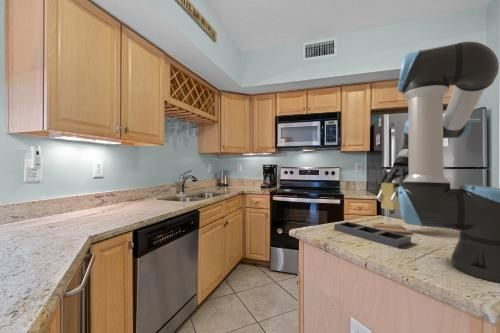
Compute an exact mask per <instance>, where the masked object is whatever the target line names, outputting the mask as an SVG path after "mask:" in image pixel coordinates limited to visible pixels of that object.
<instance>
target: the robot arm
mask: <svg viewBox="0 0 500 333" xmlns="http://www.w3.org/2000/svg"><path fill="white" fill-rule="evenodd" d="M499 66H500V63H499V59H498V57H497V55H496V54H495V52H494V50H493V49H491V48H490V47H489V46H487V45H486V44H483V43H481V42H477V41H463V42H459V43H454V44H449V45H443V46H438V47H432V48H428V49H420V50H418V51H414V52H409V53H407V54H405V55H404V56H403V58H402V60H401V65H400V72H399V79H398V85H397V93H401V94H402V98H403V99H404V100H406V102H407V103H408V104H407V105H408V107H407V108H408V109H407V110H408V112H407V113H408V114H407V115H408V117H407V118H408V119H407V120H405V124H404V130H403V132H404V133H403V144H402V147H401V148H400V150H399V153H398V154H397V156H396V158H395V160H394V162H393V163H392V167H391V168H390V169H387V168H384V169H383V173H382V175H381V177H380V179H379V181H378V182H377V184H376V185H377V186H378V188H379V189H378V191H377V192H378V194H377V196H376V199H377V201H378V202H381V183H385V182H392V183H393V181H394V180H396V179H397V178H398V179H399V182H398V183H399V186H398V188H397V187H396V189H395V191H394V193H393V195H392V197H391V201H392V203H393V204H395V202H396V200H397V198H398V197H399V210H400V215H401V218H402V221H403V222H404V223H405V224H407V225H413V226H419V227H422V228H423V227H427V228H428V227H429V228H438V229H446V230H447V229H448V230H454V231H455V230H456V231H457V230H458V231H459V239H458V241H457V243H456V245H455V247H454V250H453V251H452V253H451V258H450V259H451V261H450V262H451V266H453V267H454V268H455V269H457V270H459V271H461V272H463V273H465V274H468V275H470V276H473V277H475V278H479V279H482V280H485V281H486V280H487V281H491V282H495V283H500V188H499V187H492V186H484V185H478V184H467V183H461V184H460V185H459V187H458V188H451V181H450V180H448V179H447V177H445V176H444V175H445V174H444V172H445V171H444V139H458V138H466V137H469V135H470V134H471V129H472V122H471V120H470V117H471V115H472V113H473V112H474V109H475V107H476V106H477V105H478V103H479V100H480V98H481V96H482V95H483V93H484V91H485V90H487V88H489V87H490V86H491V85H492V84H493V83H494V81H495V80H496V79H497V76H498V73H499ZM450 86H454V88H453V91H452V94H451V97H450V99H449V100H448V101H449V102H448V104H447V107H446V109H445V113H444V111H443V110H444V107H443V106H444V105H443V104H444V103H443V102H444V99H443V98H444V96H445V95H446V94H447V93H448V92H449V91H450Z"/></svg>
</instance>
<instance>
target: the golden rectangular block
mask: <svg viewBox="0 0 500 333" xmlns="http://www.w3.org/2000/svg"><path fill="white" fill-rule="evenodd" d="M398 186H399V182H393V181H392V182H385V183H381V203H380V206H381V207H380V208H381V209H384V210H391V211H394V210H400V204H399V197H398V198H397V200H396V202H395V204H393V203H392V201H391V197H392V195H393V193H394V191H395V189H396V187H397V188H398Z"/></svg>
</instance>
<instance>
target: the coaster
mask: <svg viewBox="0 0 500 333" xmlns="http://www.w3.org/2000/svg"><path fill="white" fill-rule="evenodd" d="M370 224H371V225H370V227H373V228H377V229H381V230H385V231H390V232H394V233H398V234H402V235H407V236H413V232H412V231H410V230H409V229H407V228H406V227H404V226H402V225H401V224H392V223H388V224H386V223H385V224H384V223H370Z"/></svg>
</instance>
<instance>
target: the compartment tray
mask: <svg viewBox="0 0 500 333" xmlns="http://www.w3.org/2000/svg"><path fill="white" fill-rule="evenodd" d="M333 227H334V228H333V229H334V231H335V232H338V233H341V234H347V235H348V236H349V235H350V236H353V237H356V238H359V239H363V240H366V241H369V242H374V243H378V244H380V245H384V246H388V247H391V248H395V249H400V248H403V247H406V246H409V245H411V244H412V235H402V234H398V233H394V232H390V231H385V230H381V229H377V228H373V227H372V226H367V225H364V224H359V223H354V222H351V221H344V222H340V223H334V226H333Z"/></svg>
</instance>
